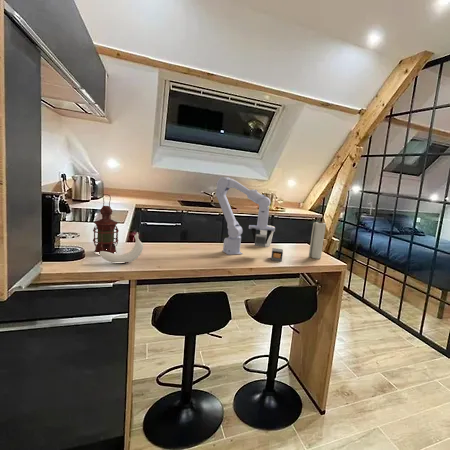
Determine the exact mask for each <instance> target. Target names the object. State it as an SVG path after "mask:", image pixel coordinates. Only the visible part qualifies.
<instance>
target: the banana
mask: <svg viewBox="0 0 450 450" xmlns="http://www.w3.org/2000/svg"><path fill="white" fill-rule="evenodd" d="M134 239H135V242H134V246H133V248H132V249H131V250H130V251H129V252H127V253H124V254H123V253H122V254H118V253H116V254H114V253H110V252H105V251H100V253H99V254H100V255H99V256H100V257H101V258H102V259H104V260H105V261H107V262H110V263H112V262H129V263H132V262H134V261H135V260H137V259H138V258H139V257H140V255H141V254H142V252H143V250H144V245H143V243H142V241H141V240H140V239H139V232H138V231H137V232H136V233H135V234H134Z"/></svg>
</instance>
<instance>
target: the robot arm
mask: <svg viewBox="0 0 450 450" xmlns="http://www.w3.org/2000/svg"><path fill="white" fill-rule="evenodd" d="M230 189H236V190H238V191H239V192H241V193H243V194H245V195H246V197H247V199H248V200H249V201H252V202H254V203H255V204H256V205H258V206H259V208H258V212H257V213H258V214H257V223H256V225H255V224H249V225H248V229H249V230H251V233H252V236H253V243H255V237H256V234H257V231H258V230H259V231H260V230H265V231H267V237H266V243H265V244H267V240H268V238H269V236H270V234H271V233H272V231H273V233H274V232H276V227H275V228H272V227H267V225H268V222H269V214H270V205H271V203H272V201H271V199H270V198H269V197H268V196H266V195H265V194H262V193H260V192H258V190H257V189H254V188H253V189H249V188H248V187H246V186H245V185H243V184H242V183H240V182H239V181H237V180H236V179H233V178H231V177H229V176H226V177H224V176H221V177H219V178H218V180H217V181H216V192H215V196H216V198H217V201H218V203H219V206H220V209H221V211H222V213H223V216H224V218H225V221H226V223H227V234H228V237H225V238H223V239H224V240H223V246H222V247H223V248H222V252H223V253H225V254H226V255H243V252H242V251H241V242H242V234H243V232H244V230H243V227H242V226H241V225H240V223H239V222H238V220H237V219H236V217H235V215H234V212H233V210H232V206H231V205H230V203H229V199H228V197H227V194H228V191H229V190H230Z"/></svg>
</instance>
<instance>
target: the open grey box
mask: <svg viewBox="0 0 450 450" xmlns="http://www.w3.org/2000/svg"><path fill="white" fill-rule="evenodd" d="M274 251H275V252H281V257H280V258H273V253H274ZM283 254H284V249H283V248H274V247H273V248H272V249H271V258H270V259H271V261H274V262H275V261H276V262H282V261H283Z"/></svg>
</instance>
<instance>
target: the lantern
mask: <svg viewBox="0 0 450 450" xmlns="http://www.w3.org/2000/svg"><path fill="white" fill-rule="evenodd" d="M105 195H106V196H109V200H108V201H109V203H108V205H105V199H104V196H105ZM102 202H103V205H102V206H101V208H100V210H99V212H100V214H101V218H100V219H98V220H95V221H94V225H95V226H94V227H93V228H92V229H93V230H92V231H93V240H92V242H93V244H94V246H95V249H94V252H95V251H96V252H99V253H100V251H105V252H110V253H114V252H116V253H117V248H116V246H118V243H119V231H120V230H119V228H118V226H117V225H118V224H119V223H118V221H116V220H113V219H112V214H113V209H112V208H111V206H110V203H111V195H110V194H107V193H103V194H102ZM96 230H97V231H96ZM96 233H97V234H96ZM96 235H97V237H96ZM96 240H97V241H96ZM106 249H107V250H106Z"/></svg>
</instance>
